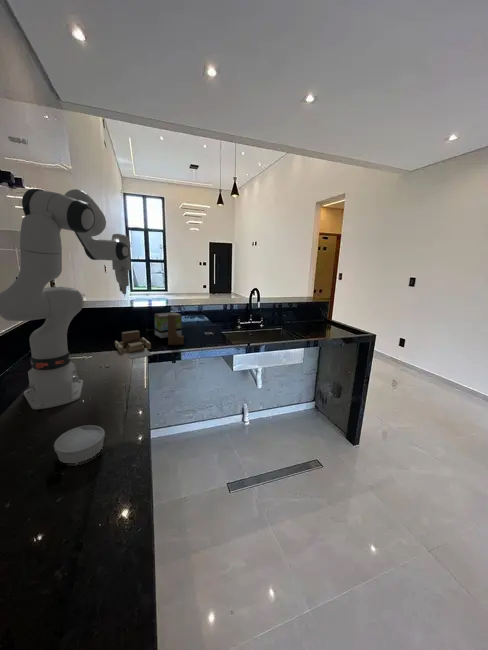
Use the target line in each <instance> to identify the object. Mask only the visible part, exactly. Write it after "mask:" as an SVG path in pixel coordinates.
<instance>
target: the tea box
mask: <svg viewBox="0 0 488 650" xmlns="http://www.w3.org/2000/svg"><path fill="white" fill-rule="evenodd" d="M168 314H175V315H176V333H177V334H178V335H182V333H183V332H182V328H183V327H182V325H183V324H182V323H183V322H182V321H183V320H182V317H183V316H182V314H180V313H178V312H176V311H175V312H160V313H154V335H155V336H157V337H158V338H160V339H165V338H168Z"/></svg>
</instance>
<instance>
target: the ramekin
mask: <svg viewBox="0 0 488 650" xmlns="http://www.w3.org/2000/svg"><path fill="white" fill-rule="evenodd" d="M105 436H106V432H105V429H104V428H102V427H100V426H98V425H93V424H91V425H90V424H89V425H81V426H77V427H74V428H70V429H69V430H67V431H66V432H64V433H62V434H60V435H59V436H58V438H57V439H55V441H54V444H53V449H54V452H55V453H56V454H57V457H58V460H59V462H60V461H61V462H63V463H77V462H81V461H84V460H87V459H89V458H92V457H93V456H95V455H96V454H97V453H99V452H100V450H101V449H102V450H103V448H102V447H104V439H105ZM61 462H60V463H61Z"/></svg>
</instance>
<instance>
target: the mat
mask: <svg viewBox="0 0 488 650" xmlns="http://www.w3.org/2000/svg"><path fill="white" fill-rule="evenodd" d="M126 354H127V356H128V357H129V358H130V359H131V360H134V359H138V358H144V357H149V356H153V353H151V351H149V349H147V350H145V351H138V352H132V353H129V352H128V353H126Z"/></svg>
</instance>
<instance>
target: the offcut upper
mask: <svg viewBox="0 0 488 650" xmlns="http://www.w3.org/2000/svg"><path fill="white" fill-rule="evenodd" d="M141 346H143V343H142V342H136V343H130V344H128V347H130V348H135V347H141Z"/></svg>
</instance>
